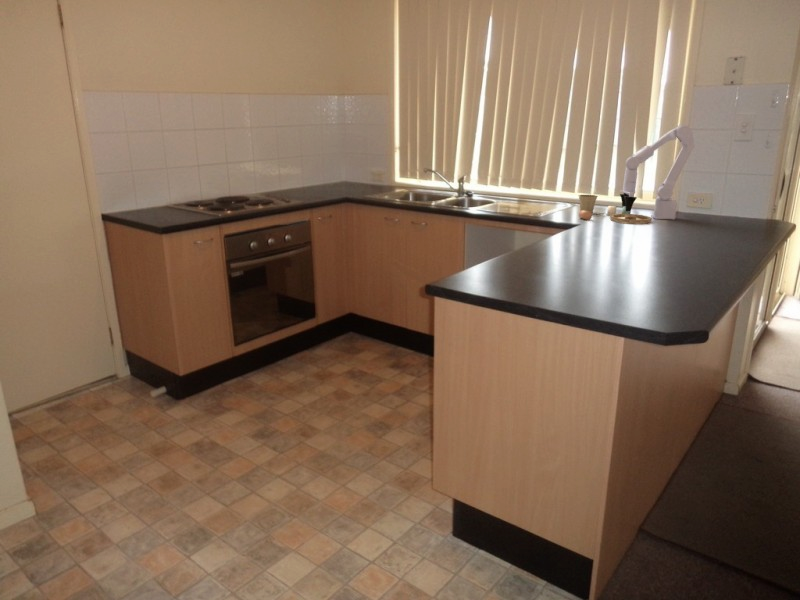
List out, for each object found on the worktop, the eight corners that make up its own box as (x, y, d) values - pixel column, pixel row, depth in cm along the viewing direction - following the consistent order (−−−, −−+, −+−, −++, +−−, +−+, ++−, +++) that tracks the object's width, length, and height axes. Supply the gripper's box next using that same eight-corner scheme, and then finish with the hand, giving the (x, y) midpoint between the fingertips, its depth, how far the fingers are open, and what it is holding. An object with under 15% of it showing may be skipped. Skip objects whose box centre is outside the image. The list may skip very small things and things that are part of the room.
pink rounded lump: (593, 214, 287) (586, 213, 290) (589, 210, 284) (582, 208, 288) (588, 221, 286) (581, 220, 290) (584, 216, 284) (577, 215, 288)
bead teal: (629, 215, 300) (630, 206, 298) (630, 216, 296) (632, 207, 295) (620, 215, 300) (621, 206, 299) (622, 216, 297) (623, 207, 295)
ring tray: (645, 218, 292) (645, 213, 292) (654, 224, 275) (655, 219, 275) (606, 216, 295) (607, 212, 294) (614, 223, 278) (614, 218, 277)
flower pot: (573, 211, 310) (574, 194, 307) (588, 210, 313) (590, 194, 310) (583, 214, 301) (585, 197, 299) (599, 213, 304) (601, 196, 302)
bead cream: (614, 215, 301) (615, 206, 299) (616, 216, 297) (617, 207, 296) (606, 214, 301) (607, 205, 300) (607, 216, 297) (608, 207, 296)
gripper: (618, 180, 301) (615, 207, 305) (624, 183, 287) (621, 211, 291) (633, 180, 300) (629, 207, 304) (640, 183, 286) (636, 212, 290)
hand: (626, 209), depth 297 cm, fingers open, 7 cm apart
